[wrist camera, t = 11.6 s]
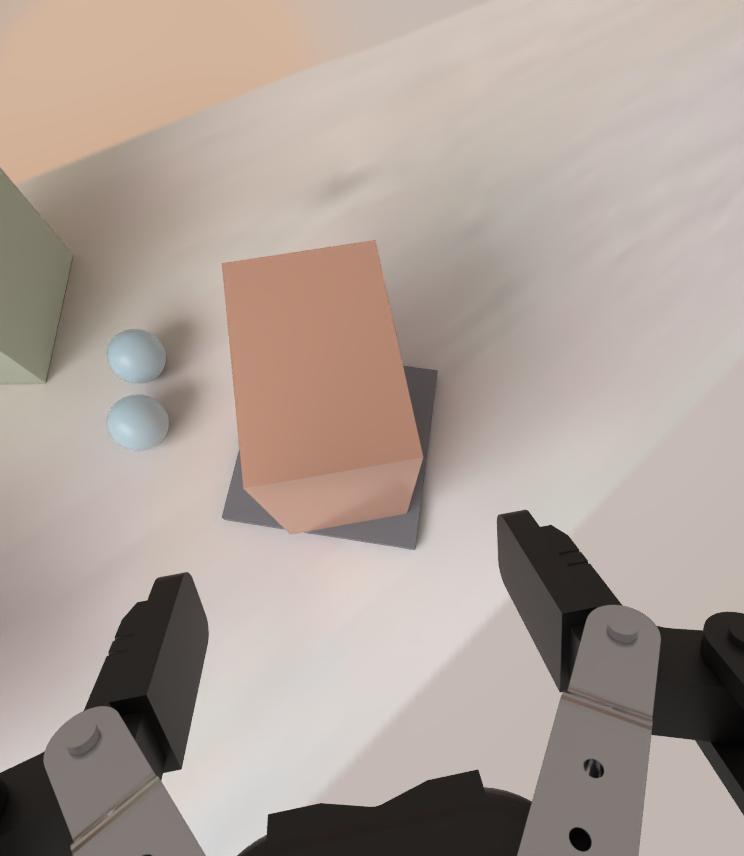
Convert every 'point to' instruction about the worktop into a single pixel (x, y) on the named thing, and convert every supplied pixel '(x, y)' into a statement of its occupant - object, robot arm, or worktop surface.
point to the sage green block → (28, 287)
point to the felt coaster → (375, 531)
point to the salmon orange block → (320, 388)
